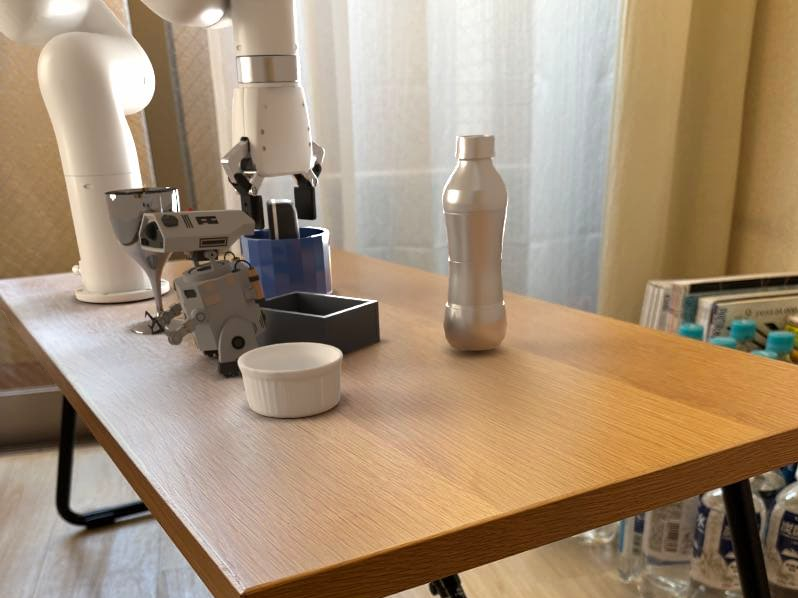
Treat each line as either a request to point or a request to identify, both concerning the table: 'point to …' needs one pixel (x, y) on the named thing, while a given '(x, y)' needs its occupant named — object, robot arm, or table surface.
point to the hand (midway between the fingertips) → (281, 224)
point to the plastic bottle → (475, 247)
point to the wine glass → (126, 226)
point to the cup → (290, 261)
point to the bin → (320, 321)
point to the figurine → (209, 283)
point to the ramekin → (292, 379)
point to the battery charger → (282, 219)
